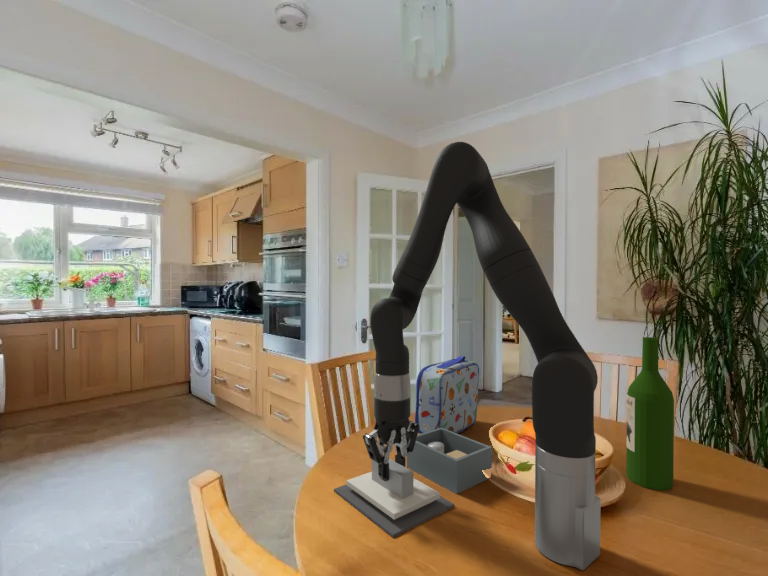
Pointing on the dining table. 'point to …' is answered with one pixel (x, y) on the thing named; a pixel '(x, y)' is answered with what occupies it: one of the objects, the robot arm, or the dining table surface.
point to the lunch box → (447, 395)
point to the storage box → (450, 459)
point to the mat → (385, 521)
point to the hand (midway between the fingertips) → (392, 476)
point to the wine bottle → (650, 424)
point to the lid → (393, 490)
